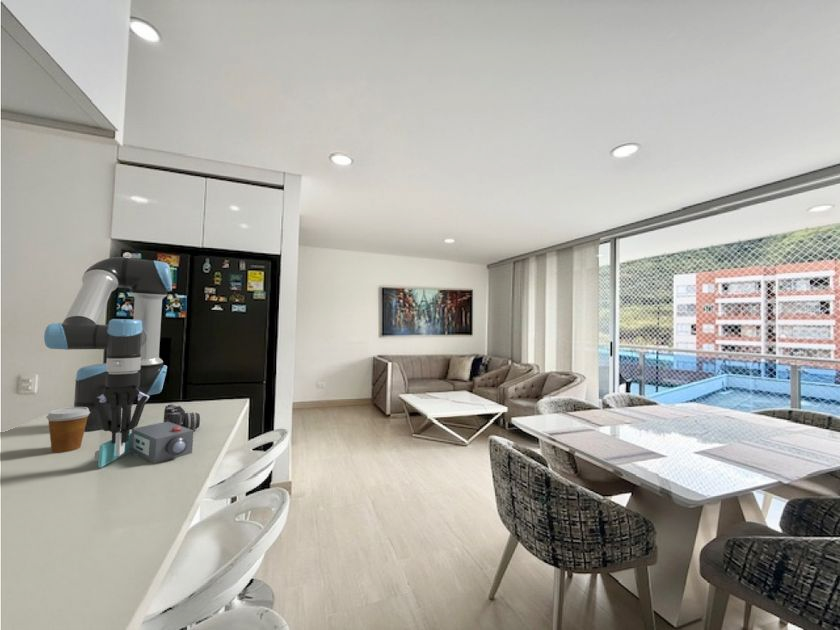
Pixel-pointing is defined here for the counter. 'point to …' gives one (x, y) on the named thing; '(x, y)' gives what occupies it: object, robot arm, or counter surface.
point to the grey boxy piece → (161, 441)
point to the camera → (181, 417)
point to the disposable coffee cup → (67, 428)
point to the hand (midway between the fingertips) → (119, 454)
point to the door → (110, 452)
